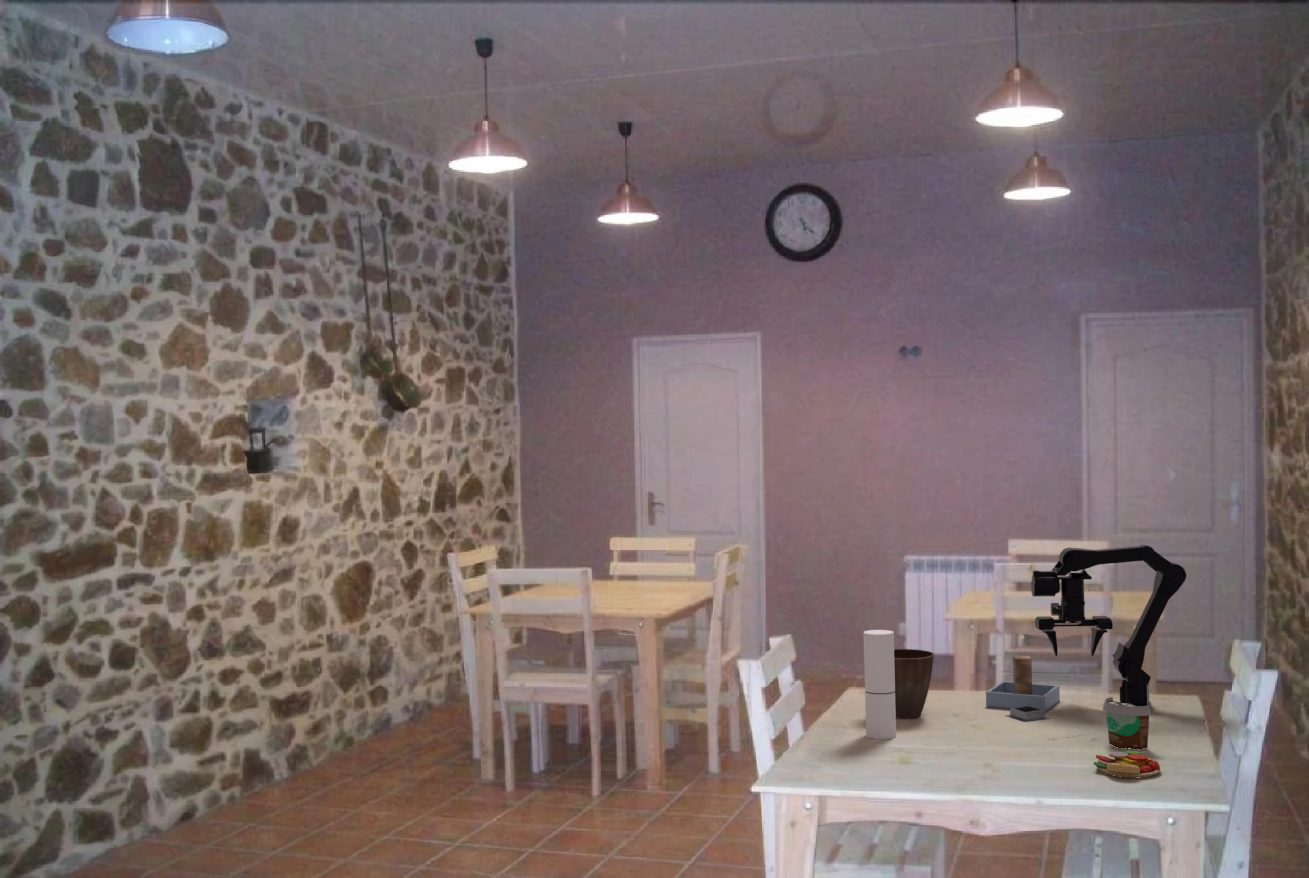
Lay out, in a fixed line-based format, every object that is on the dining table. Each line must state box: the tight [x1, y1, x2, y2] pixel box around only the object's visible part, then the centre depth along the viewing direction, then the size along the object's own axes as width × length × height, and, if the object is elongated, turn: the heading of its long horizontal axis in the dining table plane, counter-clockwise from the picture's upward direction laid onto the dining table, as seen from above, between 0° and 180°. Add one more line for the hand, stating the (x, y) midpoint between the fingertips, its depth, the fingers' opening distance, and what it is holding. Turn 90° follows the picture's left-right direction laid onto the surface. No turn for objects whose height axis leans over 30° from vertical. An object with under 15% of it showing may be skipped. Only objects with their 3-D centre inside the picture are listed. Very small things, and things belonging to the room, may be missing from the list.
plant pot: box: [894, 648, 935, 719], centre depth 332 cm, size 15×15×16 cm
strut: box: [1012, 655, 1033, 695], centre depth 340 cm, size 4×4×12 cm
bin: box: [985, 681, 1061, 713], centre depth 340 cm, size 15×15×4 cm
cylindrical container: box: [863, 629, 897, 740], centre depth 311 cm, size 7×7×25 cm
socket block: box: [1004, 706, 1052, 723], centre depth 324 cm, size 8×8×3 cm
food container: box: [1102, 696, 1152, 750], centre depth 295 cm, size 12×6×10 cm, turn 25°
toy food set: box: [1093, 749, 1161, 779], centre depth 275 cm, size 13×13×3 cm
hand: (1074, 655), depth 339 cm, fingers open, 9 cm apart
